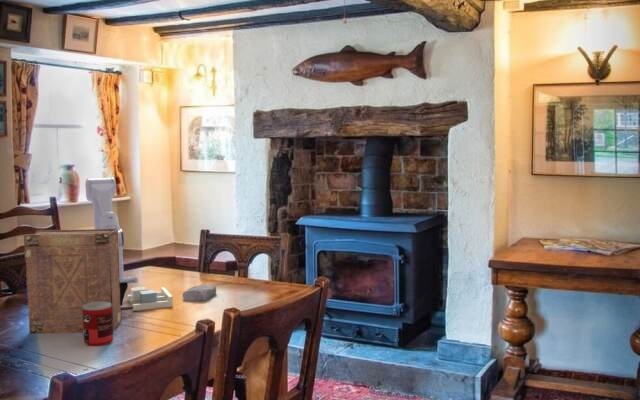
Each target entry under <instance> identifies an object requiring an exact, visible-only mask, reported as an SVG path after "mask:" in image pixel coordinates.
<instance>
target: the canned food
mask: <svg viewBox="0 0 640 400" xmlns="http://www.w3.org/2000/svg"><path fill="white" fill-rule="evenodd" d="M82 309H83V329H84V332H83V341H84V344H85V345H87V346H89V347H100V346H105V345H106V346H107V345H109V344H112V342H113V341H114V330H113V325H112V305H111V303H110V302H104V301H99V302H91V303H87V304H84V305H83V308H82Z"/></svg>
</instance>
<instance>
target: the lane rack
mask: <svg viewBox="0 0 640 400" xmlns="http://www.w3.org/2000/svg"><path fill="white" fill-rule="evenodd" d="M160 290H161V291H156V292H157V302H150V303H141V304H140V299H132V300H131V294H128V295H127V296H126V297H127V298H126V299H127V302H129V306H133V308H132V311H133V312H134V311H135V312H136V311H143V310H144V311H145V310H152V309H154V310H155V309H161V308H170V307H171V308H172V307H174V304H173V303H174V302H173V301H174V300H173V298H174V297H173V295H172V294H171V293H170V292H169V291H168V290H167V289H166V287H160Z"/></svg>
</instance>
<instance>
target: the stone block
mask: <svg viewBox="0 0 640 400" xmlns="http://www.w3.org/2000/svg"><path fill="white" fill-rule="evenodd" d="M216 293H217V286H216V285H208V284H201V285H195V286H192V287H191V288H190V287H189V288H188V289H187V290H186V291H184V292H183V293H182V298H183V300H184V301H189V302H192V301H194V302H195V301H197V302H205V301H207V300H209V299H210V298H212V297H214V296H215V295H216Z"/></svg>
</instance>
